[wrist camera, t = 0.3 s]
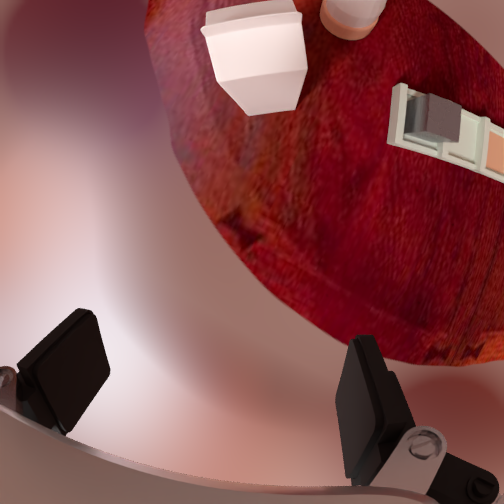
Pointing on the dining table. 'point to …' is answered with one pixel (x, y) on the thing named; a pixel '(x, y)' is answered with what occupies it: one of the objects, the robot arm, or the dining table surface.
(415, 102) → the tall gray pillar
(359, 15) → the pepper shaker
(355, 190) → the dining table surface
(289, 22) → the milk
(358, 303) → the dining table surface
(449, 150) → the white compartment tray
